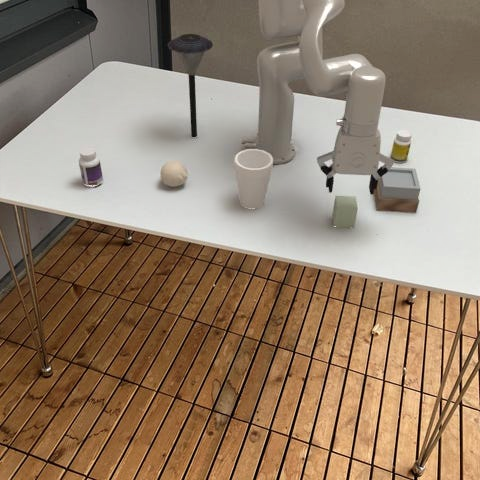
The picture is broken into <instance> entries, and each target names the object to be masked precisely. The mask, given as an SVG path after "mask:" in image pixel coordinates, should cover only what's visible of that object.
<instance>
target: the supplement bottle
mask: <svg viewBox="0 0 480 480" xmlns="http://www.w3.org/2000/svg"><path fill="white" fill-rule="evenodd" d="M412 136H413V135H412V132H411V131H409V130H406V129H401V130H397V132H396V136H395V138H394V139H393V143H392V146H391V147H392V149H391V152H390V157H389V158H390V159H392V160H393V163H397V164H403V163H406V162H407V161H408V157H409V153H410V148H411V144H412Z"/></svg>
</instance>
